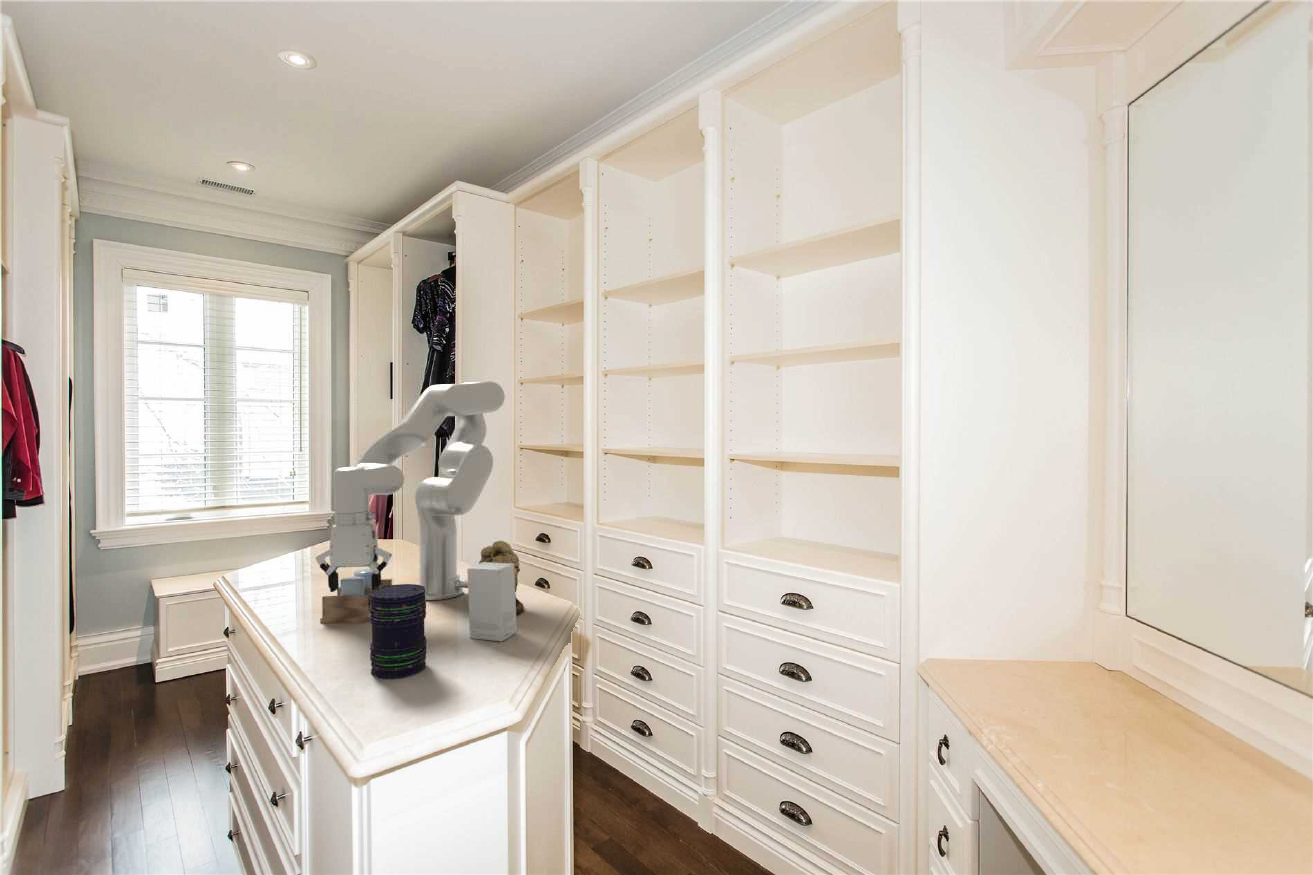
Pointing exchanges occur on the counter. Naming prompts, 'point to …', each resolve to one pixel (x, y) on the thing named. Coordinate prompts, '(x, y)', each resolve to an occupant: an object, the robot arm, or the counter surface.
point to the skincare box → (492, 601)
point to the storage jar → (397, 631)
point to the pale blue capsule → (365, 576)
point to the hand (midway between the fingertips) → (355, 589)
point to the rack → (348, 606)
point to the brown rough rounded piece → (503, 554)
